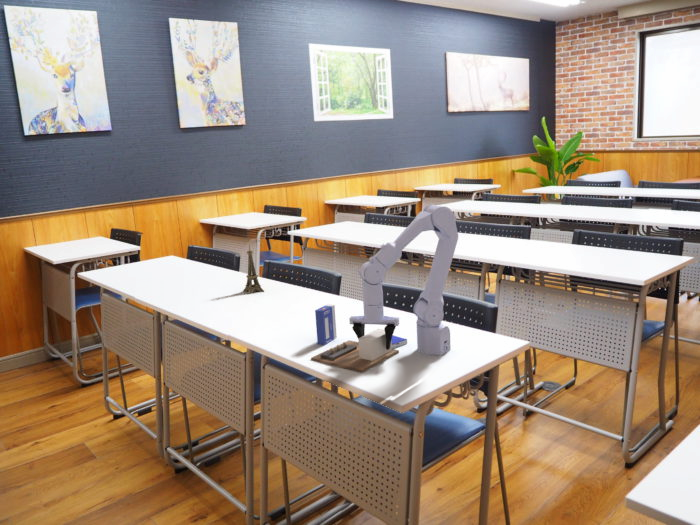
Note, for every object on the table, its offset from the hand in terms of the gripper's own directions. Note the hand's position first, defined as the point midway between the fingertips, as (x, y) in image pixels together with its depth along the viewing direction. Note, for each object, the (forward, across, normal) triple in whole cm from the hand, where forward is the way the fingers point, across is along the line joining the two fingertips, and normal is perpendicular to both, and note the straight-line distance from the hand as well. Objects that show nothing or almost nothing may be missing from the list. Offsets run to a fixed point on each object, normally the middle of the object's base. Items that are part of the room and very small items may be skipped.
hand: (375, 347), depth 168 cm
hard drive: (+2, +6, -16) cm, 17 cm away
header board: (+3, +6, +1) cm, 7 cm away
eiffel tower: (+3, +72, -63) cm, 96 cm away
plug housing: (+2, 0, 0) cm, 2 cm away
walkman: (+3, +19, -11) cm, 22 cm away
